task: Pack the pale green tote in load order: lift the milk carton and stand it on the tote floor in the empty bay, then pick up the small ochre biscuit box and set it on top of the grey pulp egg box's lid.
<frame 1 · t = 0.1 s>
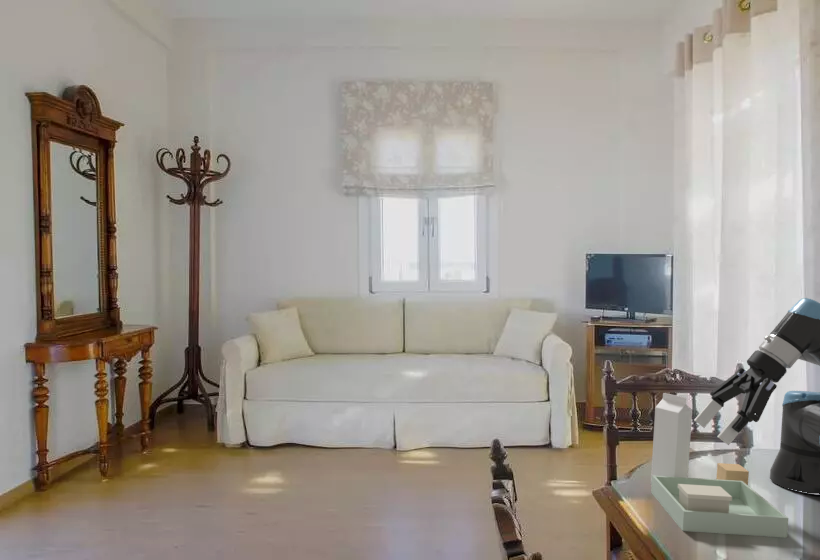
hand: (710, 432, 145), 15 cm above the table, tool tilted 35°, fingers open, 13 cm apart
milk: (668, 487, 152), on the table
tote: (713, 515, 136), on the table
biscuit box: (731, 492, 151), on the table
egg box: (702, 522, 131), point 1 cm above the table, touching tote
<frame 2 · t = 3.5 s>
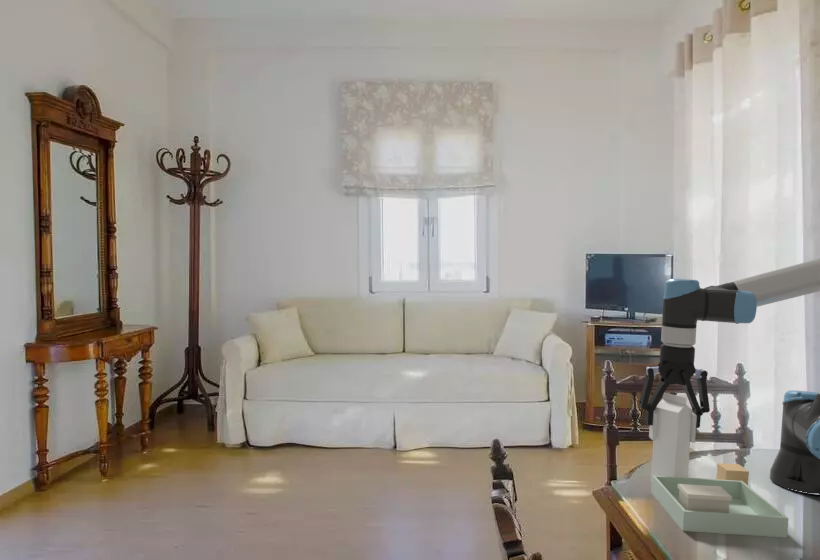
hand: (671, 439, 152), 11 cm above the table, tool pointing down, fingers closed on milk, 8 cm apart
milk: (668, 487, 152), on the table, touching gripper
everything else where it was.
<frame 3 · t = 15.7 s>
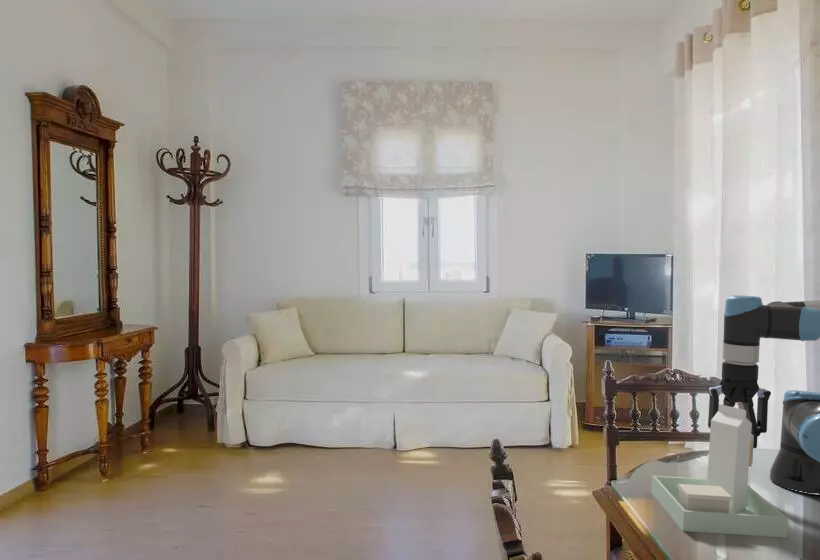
hand: (735, 460, 150), 8 cm above the table, tool pointing down, fingers closed on biscuit box, 5 cm apart
milk: (725, 507, 140), resting on tote
biscuit box: (735, 462, 150), point 7 cm above the table, touching gripper
everything else where it was.
when the fingers open (8 cm above the table, at t = 21.9 s): biscuit box stays where it is, resting on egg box.
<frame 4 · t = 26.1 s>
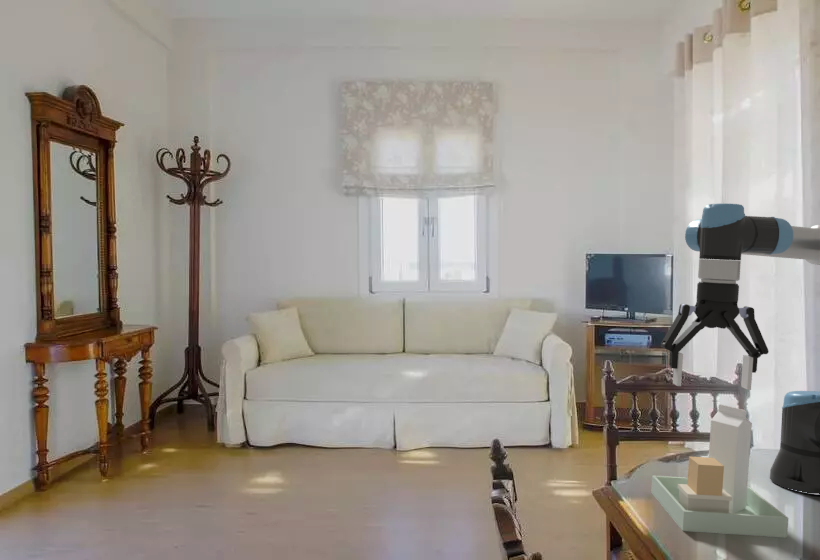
hand: (711, 386, 129), 29 cm above the table, tool pointing down, fingers open, 13 cm apart
biscuit box: (704, 490, 131), point 7 cm above the table, touching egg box
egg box: (702, 522, 131), point 1 cm above the table, touching biscuit box, tote
everything else where it was.
at the end: milk inside the target area (0.6 cm from its centre), resting on tote; milk tilted 0°; biscuit box inside the target area on the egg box (0.0 cm from its centre), point 6.8 cm above the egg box's base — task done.
